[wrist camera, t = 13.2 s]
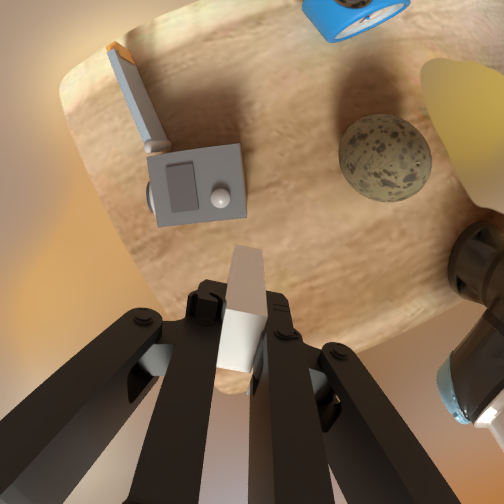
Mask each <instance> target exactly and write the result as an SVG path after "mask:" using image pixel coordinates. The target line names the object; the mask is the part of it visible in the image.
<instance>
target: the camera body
mask: <svg viewBox="0 0 504 504" xmlns="http://www.w3.org/2000/svg"><path fill="white" fill-rule="evenodd" d="M147 163H148V170H149V177H150V181H149V182H148V184H147V189H146V196H147V203H148V206H149V209H150V210H151V212H152V213H154V214H155V215H156V219H157V225H158V227H166V226H175V225H183V224H192V223H201V222H210V221H220V220H230V219H240V218H247V195H246V185H245V175H244V165H243V155H242V146H241V143H238V144H229V145H221V146H213V147H205V148H198V149H191V150H184V151H178V152H172V153H166V154H160V155H155V156H149V157H147Z"/></svg>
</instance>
